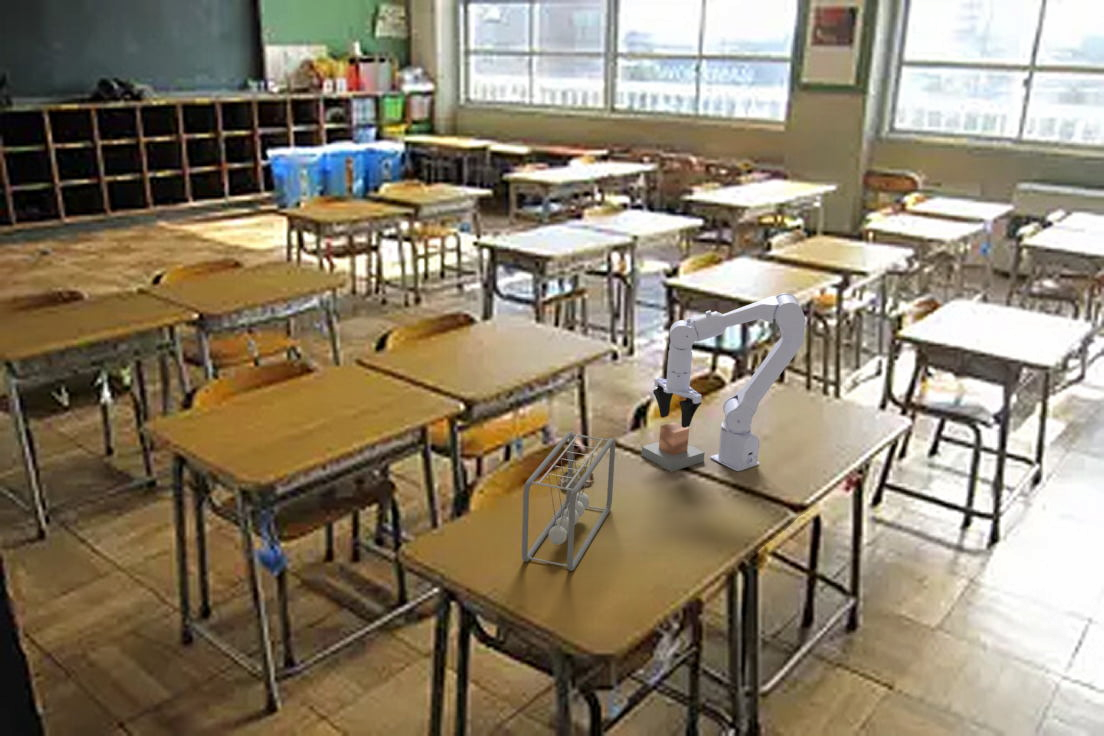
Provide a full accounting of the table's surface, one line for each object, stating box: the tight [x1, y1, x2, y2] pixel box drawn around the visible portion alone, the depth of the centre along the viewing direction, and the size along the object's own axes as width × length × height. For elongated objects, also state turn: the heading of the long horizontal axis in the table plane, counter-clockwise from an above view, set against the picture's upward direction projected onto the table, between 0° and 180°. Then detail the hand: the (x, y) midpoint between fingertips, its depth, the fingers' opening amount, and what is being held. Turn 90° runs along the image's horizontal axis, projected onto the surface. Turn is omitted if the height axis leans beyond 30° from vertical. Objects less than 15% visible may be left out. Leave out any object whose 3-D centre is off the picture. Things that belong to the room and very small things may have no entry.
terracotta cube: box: [658, 421, 690, 455], centre depth 231 cm, size 5×5×6 cm
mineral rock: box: [558, 465, 595, 492], centre depth 218 cm, size 11×4×8 cm
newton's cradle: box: [521, 430, 616, 572], centre depth 192 cm, size 30×10×18 cm, turn 161°
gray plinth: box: [641, 441, 705, 472], centre depth 232 cm, size 11×11×2 cm
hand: (674, 421), depth 231 cm, fingers open, 7 cm apart
